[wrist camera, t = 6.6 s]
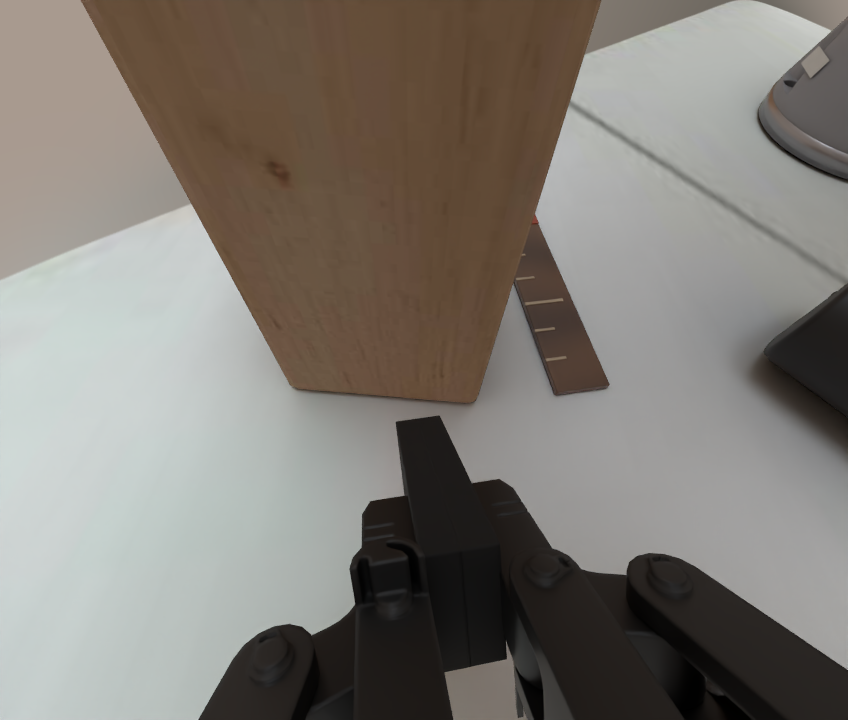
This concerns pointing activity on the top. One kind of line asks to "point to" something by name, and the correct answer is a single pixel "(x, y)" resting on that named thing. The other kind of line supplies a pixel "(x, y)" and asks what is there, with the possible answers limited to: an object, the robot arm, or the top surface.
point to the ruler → (555, 320)
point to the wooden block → (360, 166)
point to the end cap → (818, 350)
